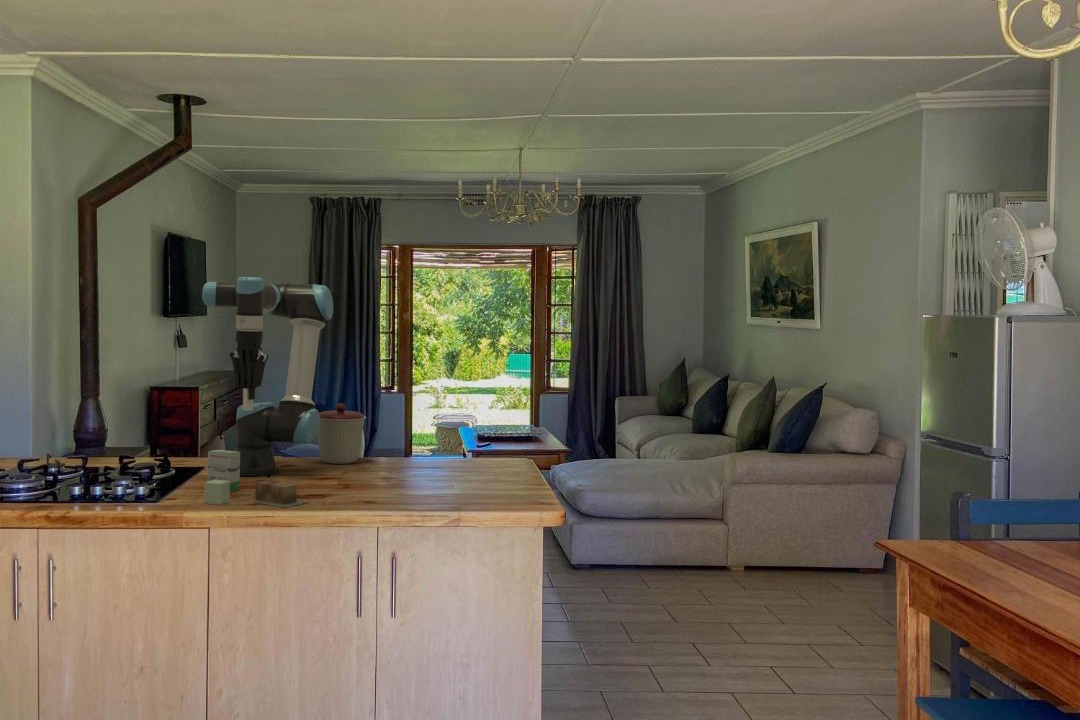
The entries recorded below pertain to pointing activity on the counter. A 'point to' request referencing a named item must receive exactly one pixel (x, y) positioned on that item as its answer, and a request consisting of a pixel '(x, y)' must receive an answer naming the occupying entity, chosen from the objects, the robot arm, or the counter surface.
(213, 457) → the ink box
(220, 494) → the sage block
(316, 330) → the robot arm
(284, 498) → the walnut block
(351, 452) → the canister
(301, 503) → the mat
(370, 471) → the counter surface
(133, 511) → the counter surface
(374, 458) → the counter surface
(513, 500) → the counter surface
